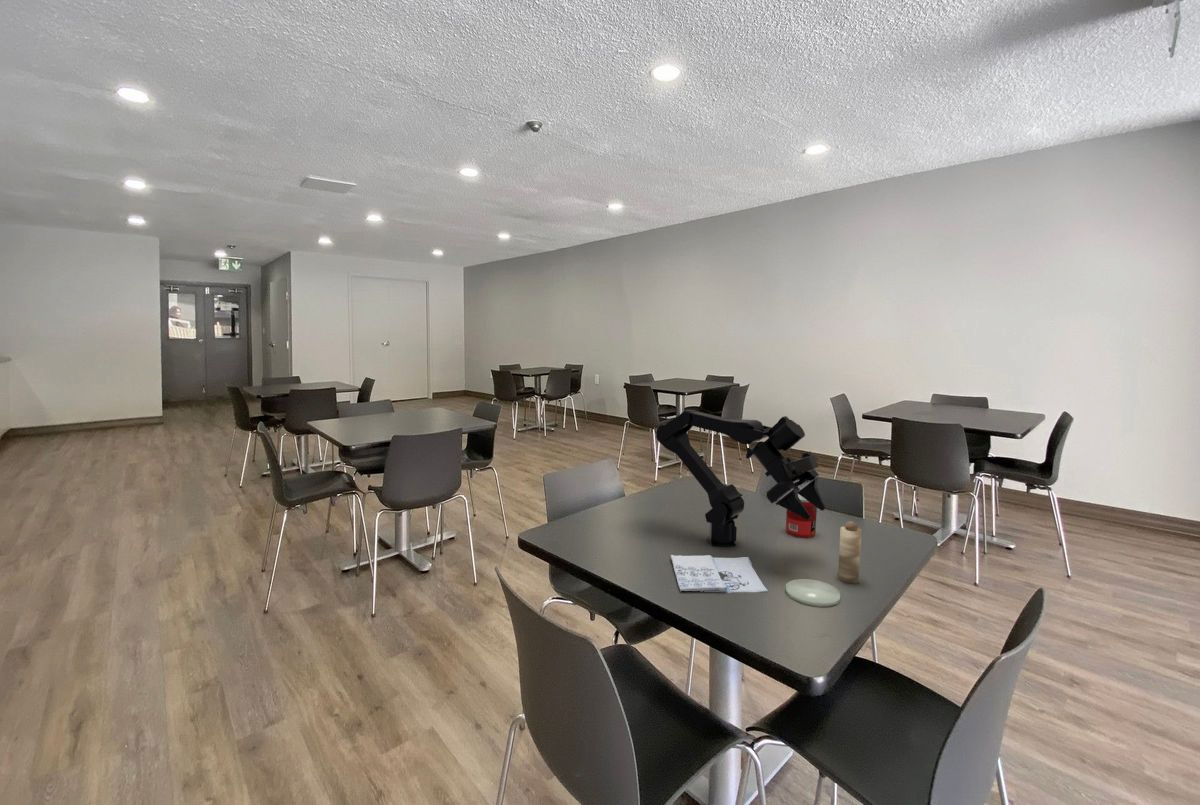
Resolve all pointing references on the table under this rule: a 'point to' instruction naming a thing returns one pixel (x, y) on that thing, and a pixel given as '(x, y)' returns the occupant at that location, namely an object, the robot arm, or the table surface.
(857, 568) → the pepper mill
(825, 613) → the table surface
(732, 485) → the robot arm
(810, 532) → the canned food
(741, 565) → the open notebook
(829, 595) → the disc
